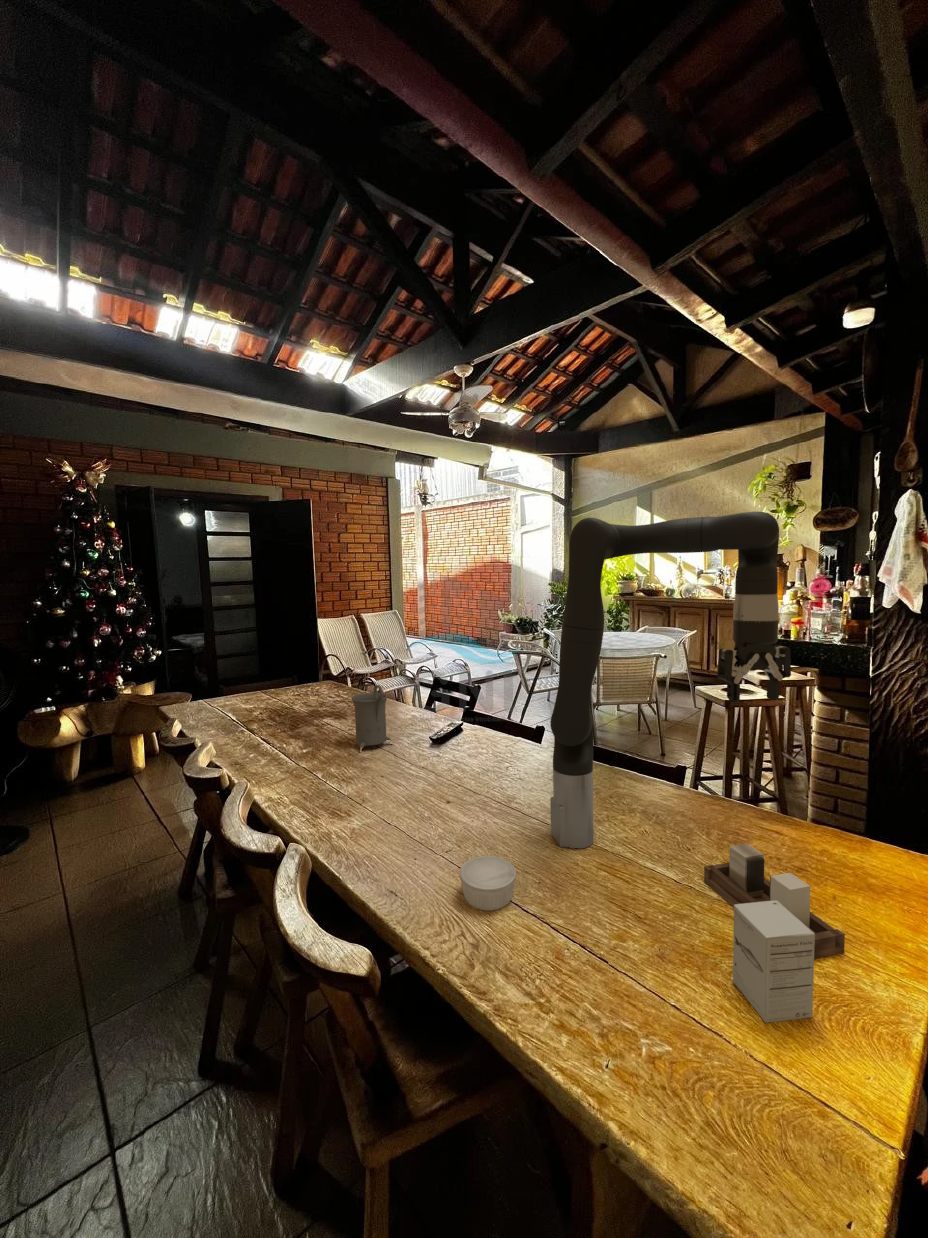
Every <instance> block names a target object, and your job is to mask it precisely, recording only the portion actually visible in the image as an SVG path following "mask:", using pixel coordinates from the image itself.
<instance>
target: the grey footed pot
mask: <svg viewBox="0 0 928 1238" xmlns="http://www.w3.org/2000/svg"><path fill="white" fill-rule="evenodd" d="M377 689H378V690H379V692H377ZM388 697H389V696H388V695H387V694H385V693H384V690H383V688H382V687H381V685H380V684H376V685H375V686H374V688H373V692H367V693H360V694H355V695H353V696H351V701H352V703H353V705H354V721H355V724H354V725H355V742H356V744H358V745H359V747H364V746H365V747H366V746H376V745H381V744H383V743H385V742H386V740H391V741H392V739H391V738H390V737H389V736H387V718H386V704H387V703H386V702H387V699H388ZM365 747H364V748H365Z"/></svg>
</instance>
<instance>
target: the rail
mask: <svg viewBox="0 0 928 1238" xmlns="http://www.w3.org/2000/svg"><path fill="white" fill-rule="evenodd" d="M703 868H704V871H703V872H704V874H703V875H704V876H703V879H704V880H703V882H704V883H705V884H706V885H708V887H709V888H711V889H712V890H713V891H714V892H716V894H717V895H719V896H720V897H721V898H722V899H724V901H726V902H727V903H728V904H730V906H731V907H733V908H734V905H735V904H744V903H754V902H763V901H769V895H770V880H768V879H767V878H765V855H764V853H762V852H761V851H760V850H758V849H756V848H755V847H753V846H752V845H750V844H749V843H743V844H737V845H730V846H729V862H723V863H718V864H712V865H711V864H710V865H705V866H704V867H703ZM809 929H810V930H811V931H812V932H814V934H815V944H814V960H815V959H820V958H825V957H829V956H834V955H838V954H844V953H845V944H846V943H845V942H846V941H845V938H846V937H845V935H846V934H845V933H844V932H843V931H841V929H839V928H836V929H835V928H834V927H832V926H831V925H829V924H828V923H827V922H825V921H824V920H823V919H821V918H820V917H819V916H817V915H816V914H815V913H813V912H812V911H810V924H809Z"/></svg>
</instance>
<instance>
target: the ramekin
mask: <svg viewBox="0 0 928 1238" xmlns="http://www.w3.org/2000/svg"><path fill="white" fill-rule="evenodd" d="M459 880H460V882H461V887H462V892H463V896H464V899H465V900H466V902H467V903H468V904H469V905H470V906H471V907H473V908H475V909H477V910H481V911H485V912H486V911H488V912H489V911H496V910H500V909H502V908H505V907H506V906H507V905H508V904H509V903H510V902H511V900H512V898H513V896H514V888H515V882H516V880H517V871H516V868H515V866H514V864H512V862H510V861H509V860H507V859H505V858H503V857H500V856H495V855H481V856H476V857H472V858H470V859H468V860H467V861H465V862H464V863H463V864H462V865H461V867H460V869H459Z"/></svg>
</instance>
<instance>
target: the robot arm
mask: <svg viewBox="0 0 928 1238" xmlns="http://www.w3.org/2000/svg"><path fill="white" fill-rule="evenodd" d="M568 540H569V542H568V579H567V581H568V583H567V588H566V595H565V603H564V612H563V619H562V626H561V633H560V634H561V635H560V647H559V659H558V661H559V663H558V664H559V665H558V667H559V669H558V672H559V675H558V687H557V691H556V692H557V693H556V697H555V701H554V707H553V710H552V715H551V718H550V729H551V733H552V734H553V737H554V741H553V743H554V745H553V755H552V782H553V783H552V785H553V786H552V787H553V788H552V789H553V790H552V795H553V796H550V801H549V802H550V835H551V837H552V836H553V837H554V838H553V837H552V838H553V840H554V839H555V840H556V841H555V840H554V841H555V842H556V844H557V843H558V844H559V845H558V844H557V845H558V846H559V848H568V847H569V849H575V848H578V849H585V848H588V847H590V846H591V845H593V843H594V841H593V840H594V839H595V838H594V837H595V836H594V834H595V833H594V831H595V830H594V785H593V784H594V771H593V770H594V767H593V766H594V765H593V764H594V716H593V713H592V710H591V694H592V686H593V682H594V679H595V677H596V676H595V675H596V672H597V668H598V664H599V660H600V656H601V651H602V646H603V645H602V644H603V639H604V628H605V609H604V603H603V598H602V588H601V587H602V586H601V585H602V574H603V569H604V564H605V560H609V559H610V560H611V559H613V558H619V557H625V556H630V555H642V554H689V553H690V554H692V553H710V552H711V553H712V552H717V551H719V550H720V551H721V550H724V551H725V550H728V551H729V550H730V551H731V550H734V551H735V550H736V551H737V558H738V559H737V561H738V563H737V568H736V572H735V583H734V584H735V587H734V590H735V591H734V594H735V595H734V602H733V610H732V611H733V612H732V615H733V616H732V617H733V618H732V622H733V623H732V640H733V642H734V647H733V649H728V648H724V647H723V648H719V651H718V660H717V661H718V662H717V674H716V676H717V679H719V680H722V681H725V682H726V698H727V699H728V701H729V702H731V703H734V704H737V703H740V701H741V684H740V682H741V681H742V679H743V678H744V676H746V675H747V674H748V673H749V672H755V671H762V672H764V674H765V675H766V676H767V678H768V679H766V697H767V699H768V700H772V701H779V698H780V695H781V681H783V679H785V678H790V677H791V676H792V666H791V663H792V662H791V661H792V659H791V658H792V657H791V648H790V647H788V646H783V645H775V644H776V643H777V642H778V641H779V613H780V612H779V611H780V609H779V608H780V607H779V600H778V589H779V588H778V587H779V583H778V582H779V581H778V580H779V578H778V577H779V576H778V575H779V574H778V573H779V572H778V567H777V566H778V565H777V562H778V554H779V553H778V551H779V542H780V527H779V523H778V521H777V519H776V518H775V517H774V515H773V514H772V515H771V514H770V513H768V512H765V511H747V512H737V513H733V514H726V515H720V516H697V517H687V518H686V517H685V518H676V519H670V520H665V521H658V522H655V523H649V524H639V525H636V524H635V525H625V524H623V525H622V524H614V523H613V524H612V523H609V522H607V521H605V520H602V519H600V518H597V517H586V518H585V517H584V518H582V519H581V520H579V521H577V523H576V524H575V525H574V526H573V527H572V530H571V533H570V535H569V539H568ZM774 659H775V660H774Z"/></svg>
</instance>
